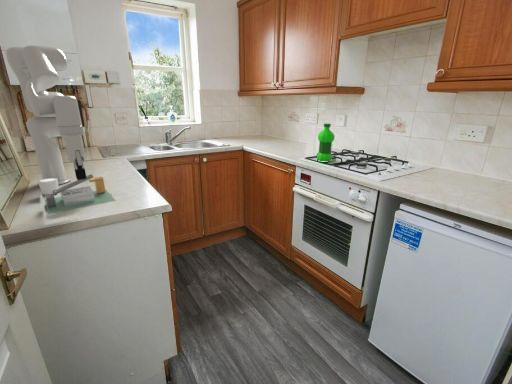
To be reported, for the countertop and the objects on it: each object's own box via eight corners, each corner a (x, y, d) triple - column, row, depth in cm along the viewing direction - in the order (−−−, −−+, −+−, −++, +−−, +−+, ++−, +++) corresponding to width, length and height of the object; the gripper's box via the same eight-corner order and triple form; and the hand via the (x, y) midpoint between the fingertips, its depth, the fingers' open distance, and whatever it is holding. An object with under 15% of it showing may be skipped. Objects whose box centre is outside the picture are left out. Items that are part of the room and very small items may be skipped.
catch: (91, 192, 119) (88, 178, 117) (104, 190, 122) (101, 176, 120) (92, 194, 116) (89, 180, 114) (105, 191, 119) (103, 178, 117)
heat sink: (47, 202, 108) (44, 192, 107) (90, 194, 117) (89, 185, 116) (48, 210, 101) (46, 199, 99) (95, 201, 110) (93, 191, 108)
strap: (54, 196, 103) (52, 193, 103) (53, 193, 106) (51, 190, 105) (94, 177, 110) (92, 175, 110) (92, 176, 113) (90, 173, 112)
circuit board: (45, 203, 111) (44, 199, 111) (106, 192, 124) (105, 189, 124) (48, 217, 98) (47, 213, 98) (116, 204, 111) (115, 200, 110)
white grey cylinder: (64, 192, 124) (61, 177, 121) (54, 198, 117) (50, 182, 115) (48, 192, 123) (44, 177, 121) (37, 198, 117) (33, 182, 115)
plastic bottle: (330, 160, 191) (333, 123, 183) (332, 164, 181) (336, 124, 173) (315, 160, 191) (318, 123, 183) (317, 163, 182) (320, 124, 173)
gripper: (57, 130, 106) (68, 177, 112) (61, 133, 95) (72, 184, 100) (80, 129, 111) (89, 174, 116) (86, 131, 99) (96, 181, 105)
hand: (81, 178), depth 108 cm, fingers closed
